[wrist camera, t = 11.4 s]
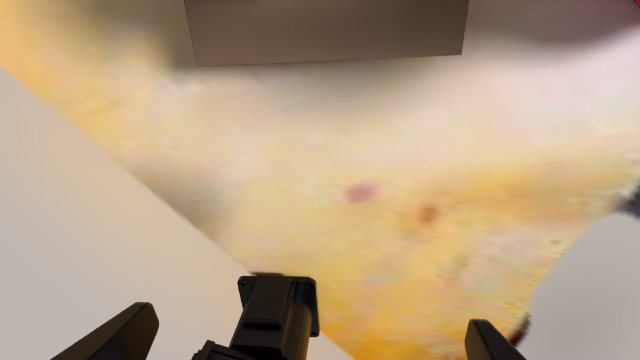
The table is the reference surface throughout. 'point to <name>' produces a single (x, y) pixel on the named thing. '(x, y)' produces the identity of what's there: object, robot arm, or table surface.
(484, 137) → the table surface
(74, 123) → the table surface
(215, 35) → the socket block
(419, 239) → the table surface
